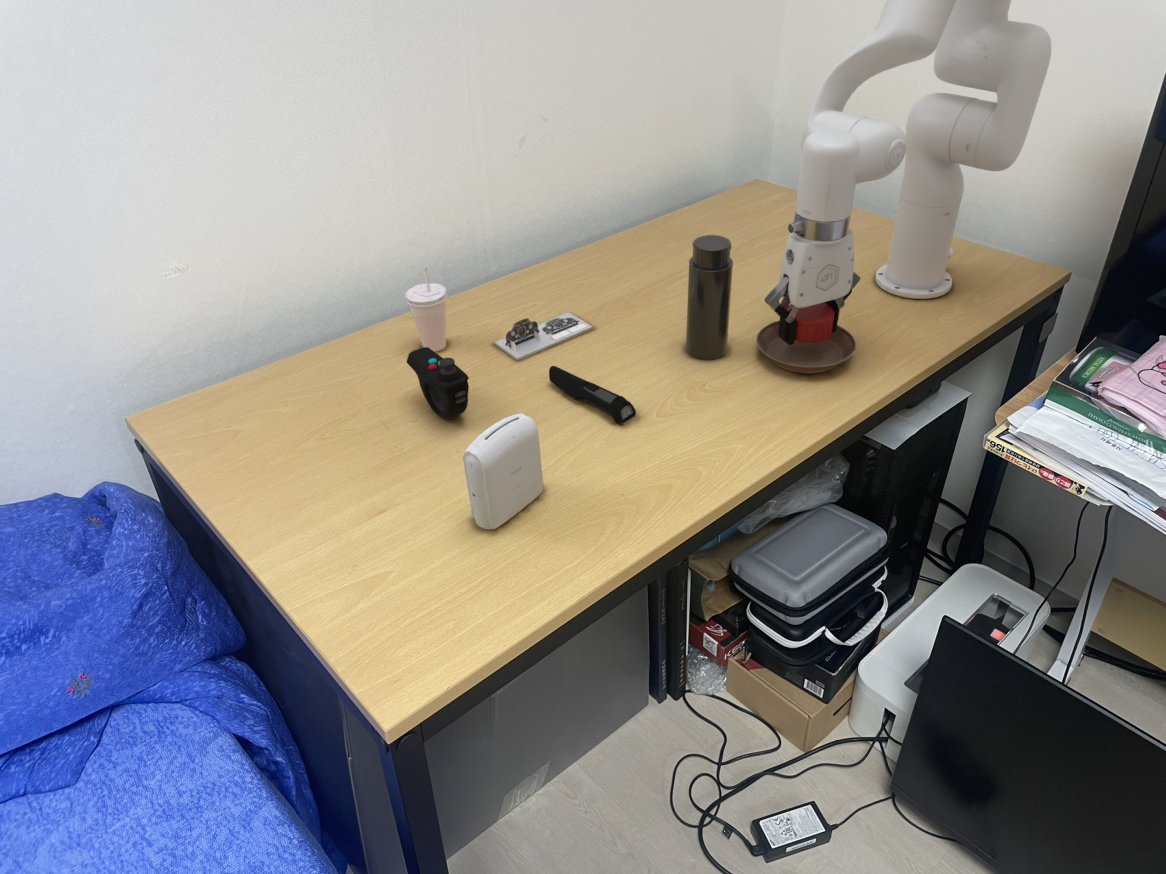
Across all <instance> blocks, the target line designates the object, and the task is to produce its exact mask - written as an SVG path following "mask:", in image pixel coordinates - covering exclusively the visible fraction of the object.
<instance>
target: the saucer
mask: <svg viewBox="0 0 1166 874" xmlns="http://www.w3.org/2000/svg"><path fill="white" fill-rule="evenodd" d="M779 322H780V319H779V320H776V321H773V322H769V324H767V325H765V326H764V327H762V328H761V329H760V330H759V332H758V333H757V335H756V345H757V347H758V349H759V350H760V352H761V353H762V355H763V356H764V357H765V358H766V359H767V360H768V361H770V362H771V363H773V364H774V365H776V366H777V367H779V368H781V369H784V370H785V371H789V372H793V373H798V374H818V373H824V372H829V371H830V370H833V369H835V368H837V367H839V366H841V365H843V364H844V363H845V362H847V360H849V359H850V358H851V357H852V356H853V355H854V353H855V351H856V350H857V342H856V339H855V338H854V336H853V335H852V333H850V332H849V331H848V330H847V329H845V328H844V327H841V326H840V325H839V324H837V331H836V332H834V333H832V335H831V336H830V337H829V338H828V339H827V340H825V341H823V342H819V343H803V342H798V341H795V342H794V344H793V345H789V344H787V343H786V342H785V341H783V340H782V339H781V338H780V337H779V334H778V331H779Z"/></svg>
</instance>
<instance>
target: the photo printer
mask: <svg viewBox="0 0 1166 874" xmlns="http://www.w3.org/2000/svg"><path fill="white" fill-rule="evenodd" d="M540 445H541V444H540V434H539V429H538V426H537V424H536V422H535V421H534V419H532V417H531V416H528V415H525V413H523V412H521V413H516V414H512V415H510V416H507V417H505V418H502V419H501V420H499V421H497V422H495V423H494V424H492V425H491V426H489V427H488V428H487V429H485V430H484V431H483V432H481V433H480V434H479V435H478V436H477V437H475V439H474V440H473V441H472V442H471V443H470V444H469V445H468V446H467V448H466V449H465V451H464V452H463V455H462V461H463V466H464V473H465V479H466V486H467V492H468V498H469V504H470V511H471V515H472V518H473V519H474V521H475V524H476V525H477V526H478V527H479V528H481V529H483V530H486V531H492V530H496V529H497V528H499V527H501V526H502V525H504V524H505V523H506V522H508V521H509V520H510V519H512V518H513V517H515V515H517V514H518V513H519V512H521V511H522V510H523V509H524V508H526V507H527V506H528V505H530V504H531V503H532V502H533V501H534V500H535V499H537V497H539V496H540V495H541V494H542V493H543V491H544V479H543V477H544V476H543V467H542V466H543V465H542V455H541V446H540Z"/></svg>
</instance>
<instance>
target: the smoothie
mask: <svg viewBox="0 0 1166 874" xmlns="http://www.w3.org/2000/svg"><path fill="white" fill-rule="evenodd" d="M422 268H423V275H424V281H425V283H420V284H416V285H413V286H412V287H410V288H409V289H407V291H406V292H405V302H406V303H407V304H408V305H409V307H410V311H411V313H412V318H413V321H414V323H415V327H416V331H417V333H418V335H419V339H420V342H421V345H422V348H423V347H428V348H430V349H431V350H433V351H434V352H435V353H437V352H439V351H442V350H444V349H445V348H446V346H447V330H446V329H447V324H446V323H447V322H446V321H447V319H446V317H447V316H446V312H447V311H446V299H447V298H448V292H447V289H446V287H445V286H443V285H441V284H439V283H434V282H433V283H432V282H430V278H429V272H428V266H427V265H424V266H422Z"/></svg>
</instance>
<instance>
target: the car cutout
mask: <svg viewBox="0 0 1166 874" xmlns="http://www.w3.org/2000/svg"><path fill="white" fill-rule="evenodd" d="M592 330H594V326H592V325H590V324H589V323H588V322H586V321H584V320H582V319H581V318H579V317H577V316H576V315H574V314H573V313H571V312H565V313H563V314H560V315H558V316H555V317H553V318H550V319H547V320H545V321H543V322H540V323H538V322H537V321H535V320H533V321H531V320H530V319H529V318H523V319H521V320H518V321H516V322H514V323H513V325H512V327H511V330H508V331H507V332H506V335H505V337H503V338H501V339H498V340H496V341H494V343H493V344H494V345H495V346H496V347H497V348H499V349H500V350H502V351H503V352H505V353H506V354H507V355H509V356H510V357H511V358H512V359H514V360H516V362H517V361H520V360H523V359H526V358H528V357H530V356H533V355H535V354H537V353H540V352H542V351H544V350H546V349H547V350H548V349H549V348H552V347H554V346H556V345H559V344H561V343H564V342H566V341H569V340H570V339H571V340H572V339H573V338H575V337H578V336H580V335H582V334H585V333H587V332H590V331H592Z"/></svg>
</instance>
